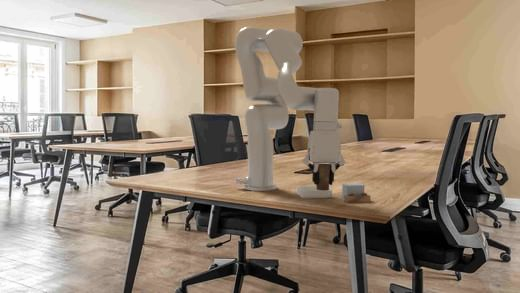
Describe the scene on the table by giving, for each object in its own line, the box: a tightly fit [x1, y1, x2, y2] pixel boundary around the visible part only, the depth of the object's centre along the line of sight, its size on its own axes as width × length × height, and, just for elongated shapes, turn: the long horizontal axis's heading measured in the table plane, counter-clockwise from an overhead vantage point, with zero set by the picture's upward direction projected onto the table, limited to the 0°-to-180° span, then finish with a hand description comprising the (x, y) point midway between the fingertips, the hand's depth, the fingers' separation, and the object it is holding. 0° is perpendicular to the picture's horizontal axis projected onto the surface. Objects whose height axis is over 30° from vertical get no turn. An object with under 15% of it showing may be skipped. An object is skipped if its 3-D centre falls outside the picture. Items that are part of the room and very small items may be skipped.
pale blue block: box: [341, 182, 365, 200], centre depth 140 cm, size 6×4×5 cm, turn 99°
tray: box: [296, 185, 333, 200], centre depth 146 cm, size 10×10×2 cm
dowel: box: [316, 163, 330, 191], centre depth 137 cm, size 4×4×8 cm
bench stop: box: [343, 192, 371, 203], centre depth 136 cm, size 8×2×3 cm, turn 98°
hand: (322, 183), depth 137 cm, fingers closed on dowel, 4 cm apart
